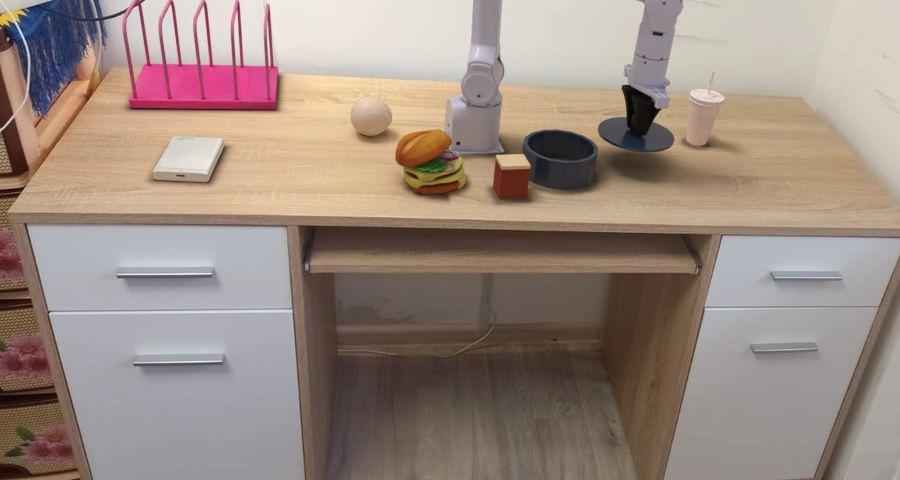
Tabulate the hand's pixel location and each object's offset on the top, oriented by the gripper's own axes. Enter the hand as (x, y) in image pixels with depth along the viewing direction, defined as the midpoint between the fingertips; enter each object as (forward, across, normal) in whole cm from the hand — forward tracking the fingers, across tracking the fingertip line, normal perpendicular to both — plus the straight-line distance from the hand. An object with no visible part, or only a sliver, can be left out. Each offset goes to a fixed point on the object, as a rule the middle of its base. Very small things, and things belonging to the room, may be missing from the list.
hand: (636, 131), depth 142 cm
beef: (+7, -8, +24) cm, 26 cm away
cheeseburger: (+7, -3, +36) cm, 37 cm away
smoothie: (+7, +8, -17) cm, 20 cm away
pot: (+7, -2, +14) cm, 16 cm away
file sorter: (+7, +36, +71) cm, 80 cm away
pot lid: (+1, 0, 0) cm, 1 cm away
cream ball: (+7, +16, +43) cm, 47 cm away
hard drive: (+7, +7, +73) cm, 74 cm away
